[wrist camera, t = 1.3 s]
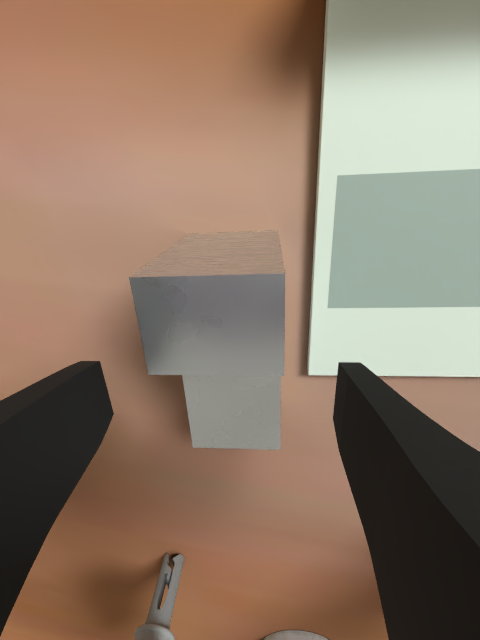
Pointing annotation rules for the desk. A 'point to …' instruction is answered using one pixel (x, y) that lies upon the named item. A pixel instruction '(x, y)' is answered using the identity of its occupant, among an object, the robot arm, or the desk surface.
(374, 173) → the corner arena
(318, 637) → the coffee cup
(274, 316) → the bracket
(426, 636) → the robot arm
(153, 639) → the mechanical component
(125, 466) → the desk surface
